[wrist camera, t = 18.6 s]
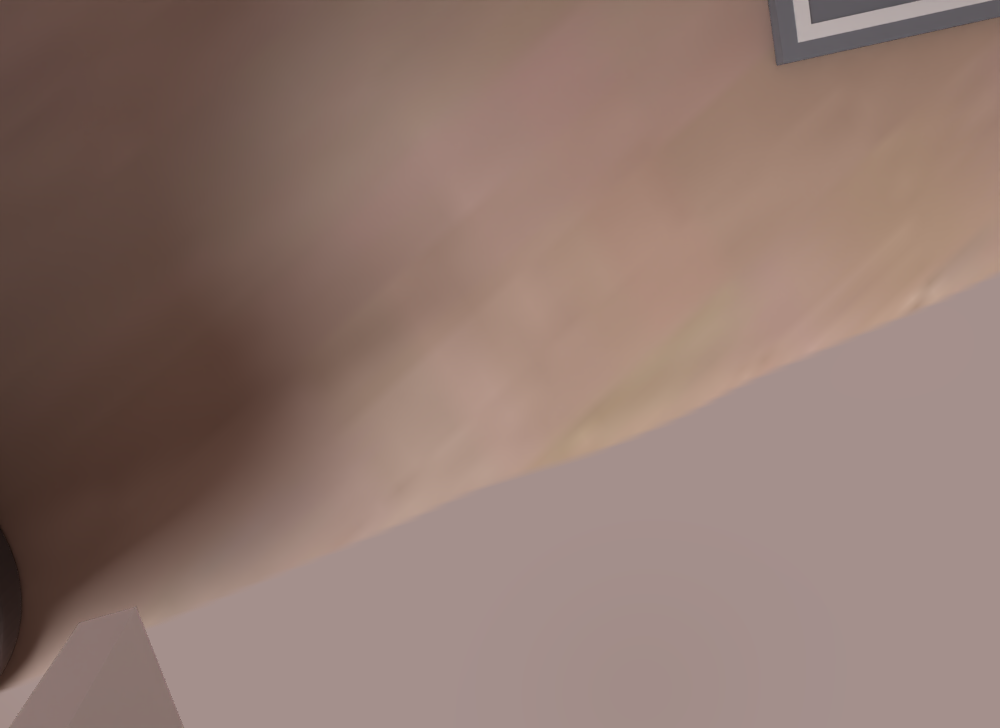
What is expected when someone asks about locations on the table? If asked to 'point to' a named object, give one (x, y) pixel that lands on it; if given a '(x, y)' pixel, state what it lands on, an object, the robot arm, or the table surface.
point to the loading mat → (863, 22)
